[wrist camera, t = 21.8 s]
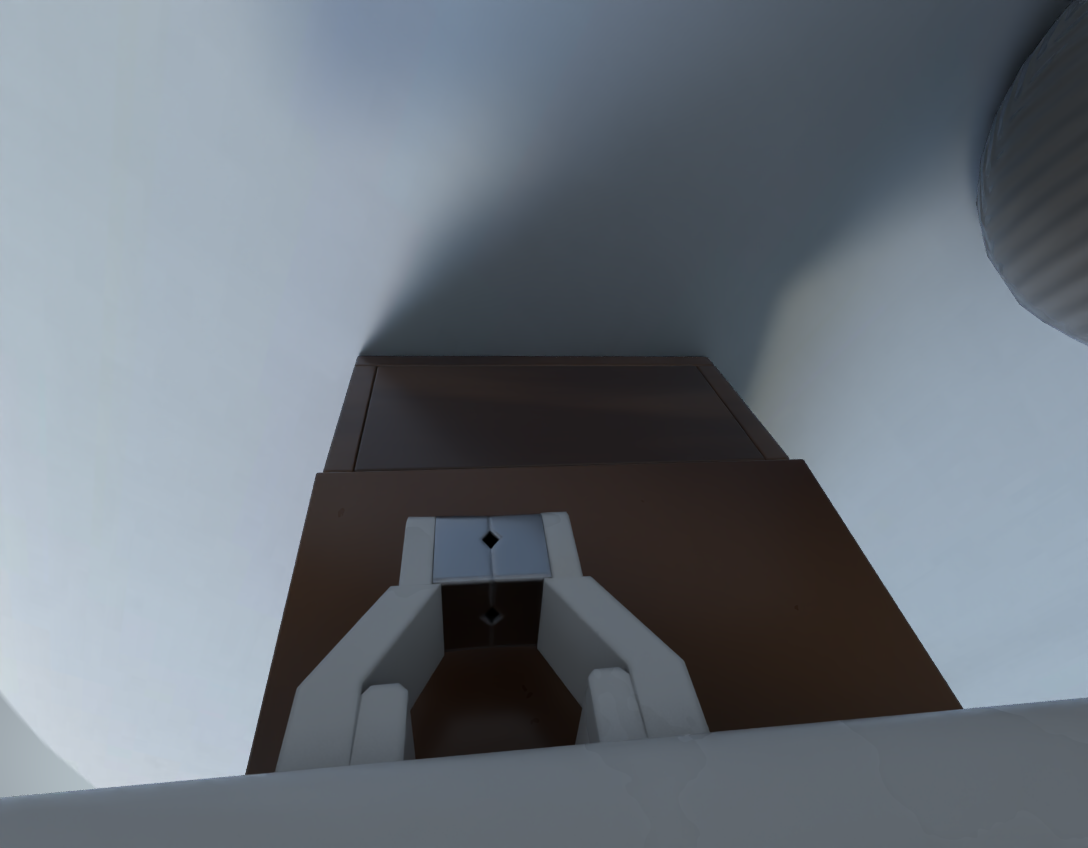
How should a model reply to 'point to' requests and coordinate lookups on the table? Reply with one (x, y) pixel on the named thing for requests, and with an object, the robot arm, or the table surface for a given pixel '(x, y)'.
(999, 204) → the lamp
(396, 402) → the chest
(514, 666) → the chest lid
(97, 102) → the table surface
